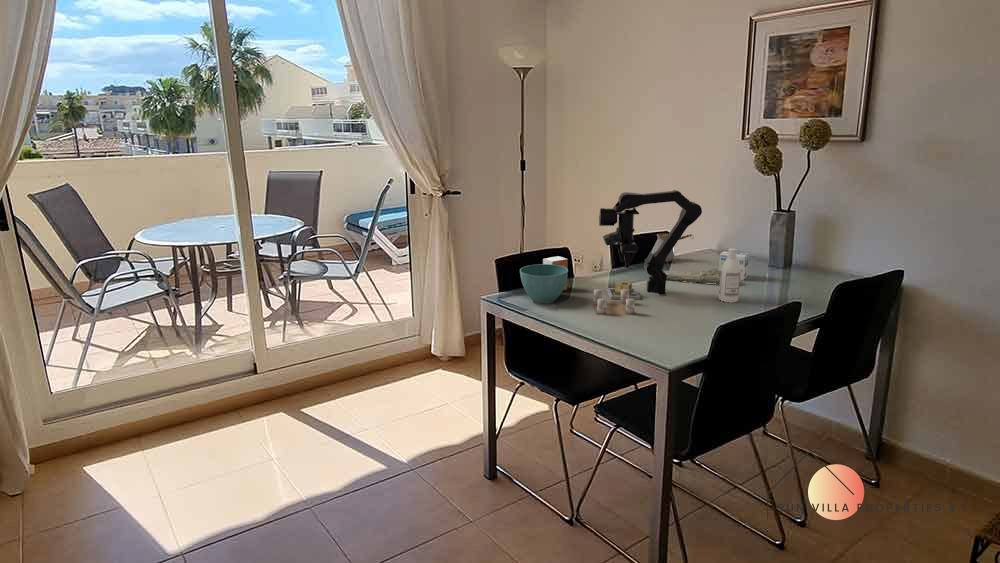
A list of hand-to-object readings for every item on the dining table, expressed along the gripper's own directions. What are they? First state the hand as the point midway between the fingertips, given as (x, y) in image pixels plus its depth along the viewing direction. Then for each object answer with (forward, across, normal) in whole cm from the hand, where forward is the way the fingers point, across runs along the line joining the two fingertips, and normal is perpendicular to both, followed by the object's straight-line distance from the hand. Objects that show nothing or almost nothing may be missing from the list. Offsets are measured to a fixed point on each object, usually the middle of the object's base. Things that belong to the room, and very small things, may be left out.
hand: (624, 264), depth 244 cm
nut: (+11, +6, -1) cm, 13 cm away
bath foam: (+12, +12, +37) cm, 41 cm away
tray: (+12, +6, -1) cm, 13 cm away
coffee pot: (+12, -49, +33) cm, 60 cm away
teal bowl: (+12, +8, -33) cm, 36 cm away
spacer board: (+12, +22, -8) cm, 26 cm away
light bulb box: (+12, -20, +51) cm, 56 cm away
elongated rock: (+12, -16, +34) cm, 40 cm away
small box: (+12, -6, -27) cm, 30 cm away
